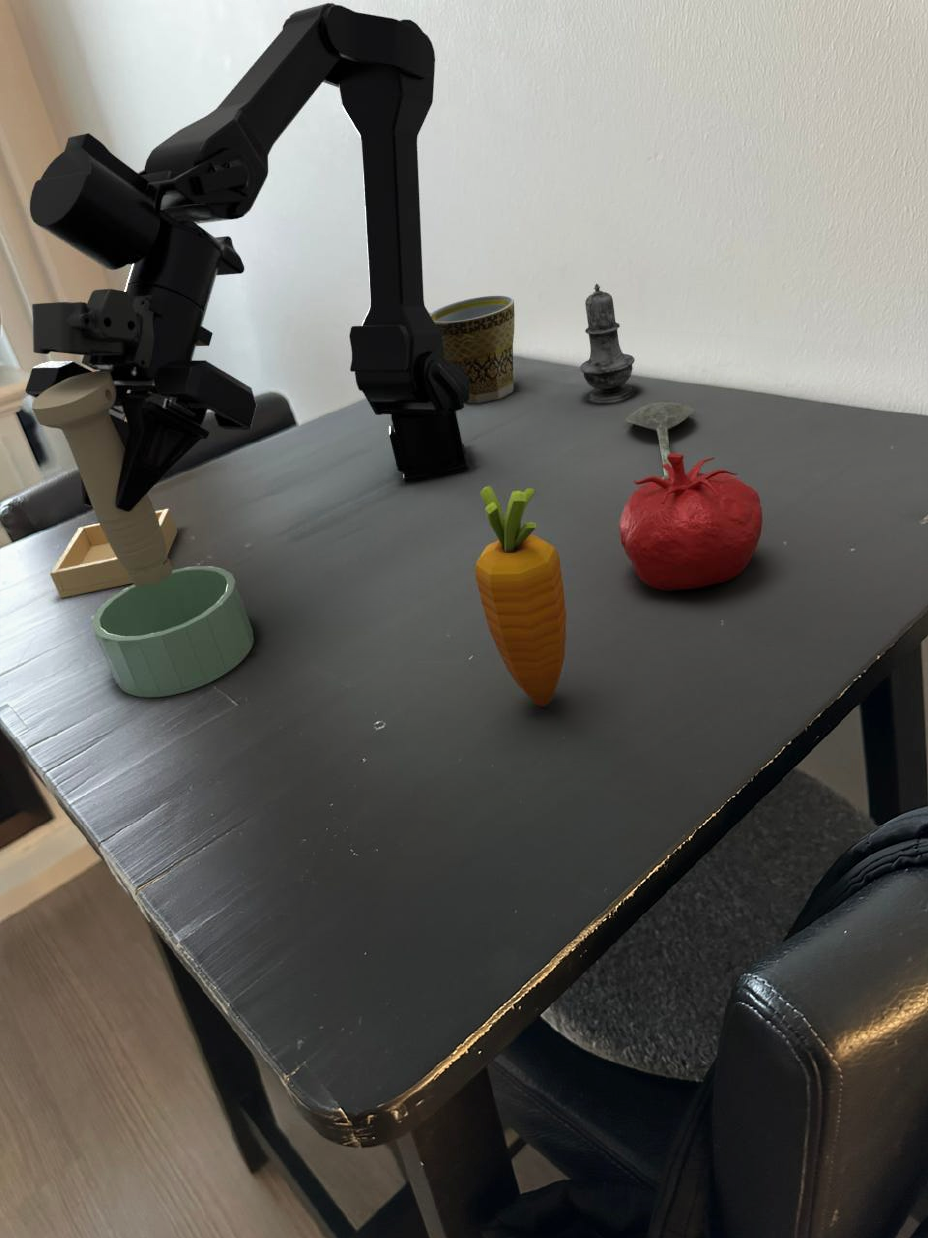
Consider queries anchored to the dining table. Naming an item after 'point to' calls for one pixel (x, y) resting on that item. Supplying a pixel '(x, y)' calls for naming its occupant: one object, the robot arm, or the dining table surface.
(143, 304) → the robot arm
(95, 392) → the handle
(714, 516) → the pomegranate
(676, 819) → the dining table surface
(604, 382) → the salt shaker
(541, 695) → the carrot
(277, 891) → the dining table surface
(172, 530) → the tray
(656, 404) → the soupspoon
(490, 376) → the ceramic cup
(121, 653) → the green bowl
